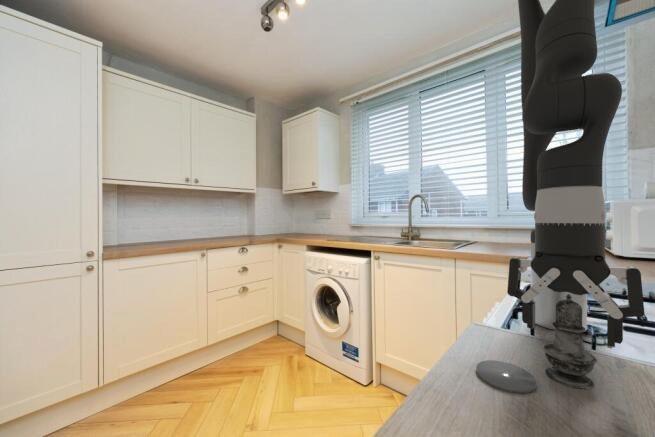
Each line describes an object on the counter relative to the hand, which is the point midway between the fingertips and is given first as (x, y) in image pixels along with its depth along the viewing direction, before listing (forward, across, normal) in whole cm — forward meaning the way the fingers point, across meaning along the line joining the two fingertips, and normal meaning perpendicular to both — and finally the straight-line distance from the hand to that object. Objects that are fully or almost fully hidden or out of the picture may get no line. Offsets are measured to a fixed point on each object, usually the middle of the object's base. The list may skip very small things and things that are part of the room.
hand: (567, 335), depth 40 cm
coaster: (+6, +6, +6) cm, 11 cm away
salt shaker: (+6, 0, -1) cm, 6 cm away
